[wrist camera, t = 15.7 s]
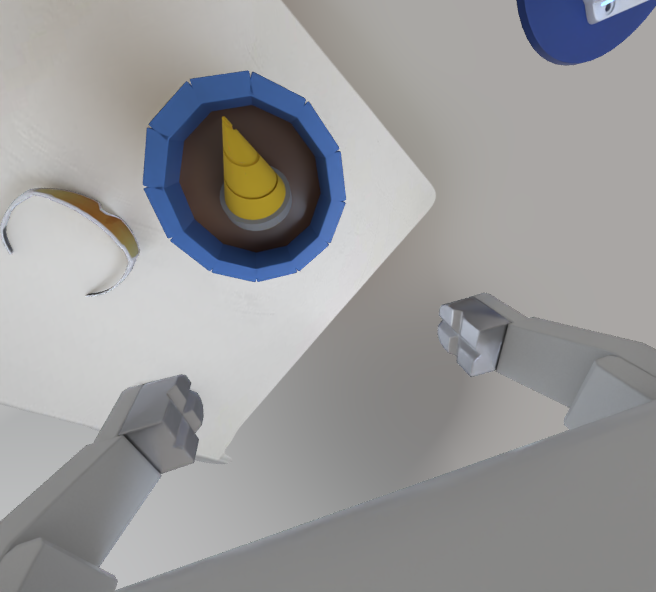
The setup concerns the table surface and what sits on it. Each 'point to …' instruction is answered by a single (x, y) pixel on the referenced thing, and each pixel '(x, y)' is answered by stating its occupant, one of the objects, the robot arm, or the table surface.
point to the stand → (275, 148)
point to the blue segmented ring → (172, 204)
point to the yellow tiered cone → (251, 185)
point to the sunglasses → (91, 211)
